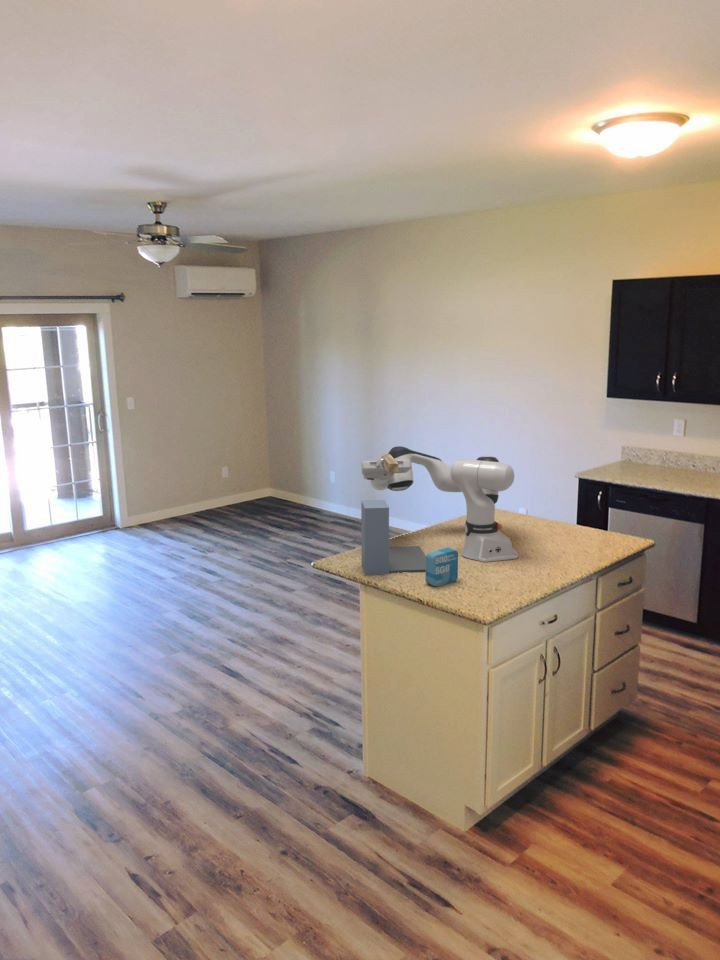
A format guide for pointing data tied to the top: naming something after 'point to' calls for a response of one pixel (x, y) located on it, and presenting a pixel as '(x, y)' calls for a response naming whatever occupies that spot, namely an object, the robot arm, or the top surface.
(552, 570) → the top surface
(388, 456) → the maple rod
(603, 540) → the top surface
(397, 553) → the rubber mat
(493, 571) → the top surface
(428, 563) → the data package
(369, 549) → the slate block
